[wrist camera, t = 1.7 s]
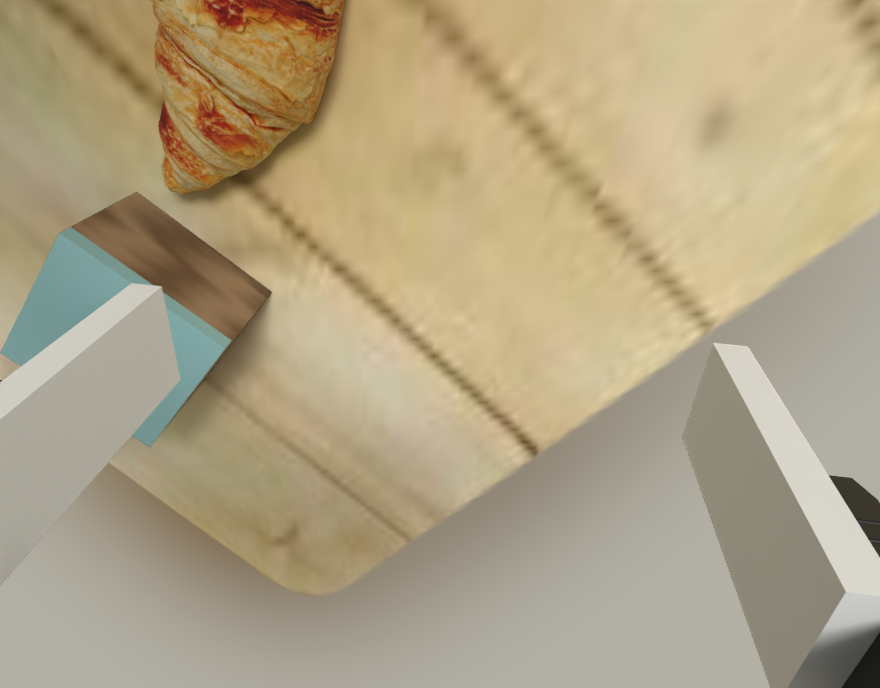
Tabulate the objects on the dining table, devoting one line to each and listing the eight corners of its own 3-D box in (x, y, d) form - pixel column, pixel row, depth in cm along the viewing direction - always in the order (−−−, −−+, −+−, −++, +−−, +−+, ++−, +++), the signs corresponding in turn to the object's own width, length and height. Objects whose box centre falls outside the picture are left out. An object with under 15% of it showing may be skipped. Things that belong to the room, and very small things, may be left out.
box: (78, 298, 46) (11, 345, 40) (136, 191, 41) (70, 226, 35) (202, 382, 49) (157, 437, 43) (271, 292, 44) (231, 340, 38)
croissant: (248, 193, 44) (255, 262, 39) (94, 132, 38) (78, 203, 33) (406, -106, 33) (444, -66, 28) (227, -254, 28) (234, -238, 22)
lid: (28, 333, 41) (-79, 408, 34) (87, 217, 36) (-23, 276, 29) (168, 423, 44) (97, 511, 37) (242, 328, 39) (176, 407, 32)
